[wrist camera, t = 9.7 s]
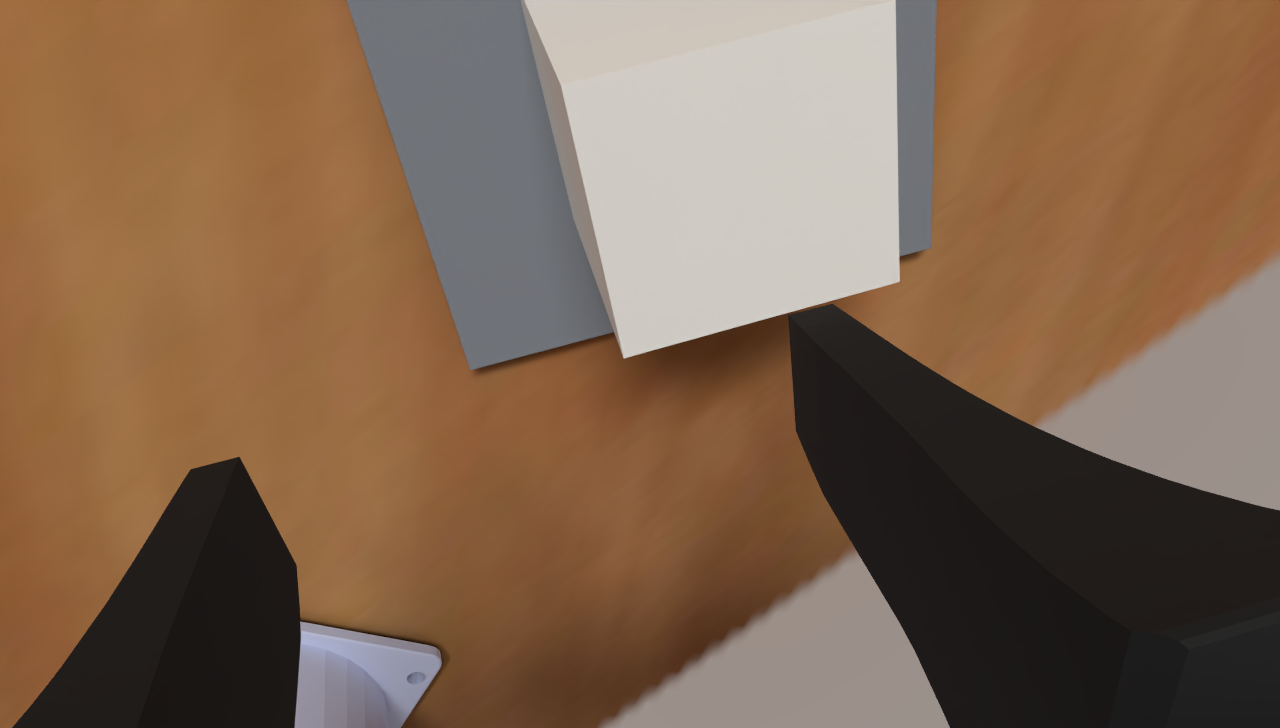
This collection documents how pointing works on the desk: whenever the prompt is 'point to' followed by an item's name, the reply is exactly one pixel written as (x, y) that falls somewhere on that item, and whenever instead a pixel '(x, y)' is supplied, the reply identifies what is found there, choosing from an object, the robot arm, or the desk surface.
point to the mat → (543, 165)
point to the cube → (723, 154)
